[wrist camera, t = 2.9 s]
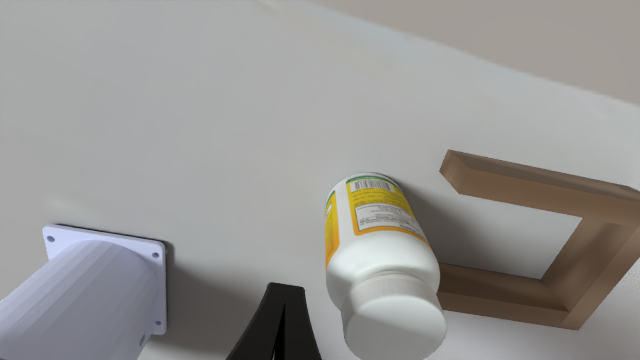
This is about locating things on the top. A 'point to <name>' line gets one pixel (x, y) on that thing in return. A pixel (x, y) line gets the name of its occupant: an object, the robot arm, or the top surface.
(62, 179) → the top surface
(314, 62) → the top surface
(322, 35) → the top surface
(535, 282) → the u rest
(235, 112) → the top surface
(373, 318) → the supplement bottle
